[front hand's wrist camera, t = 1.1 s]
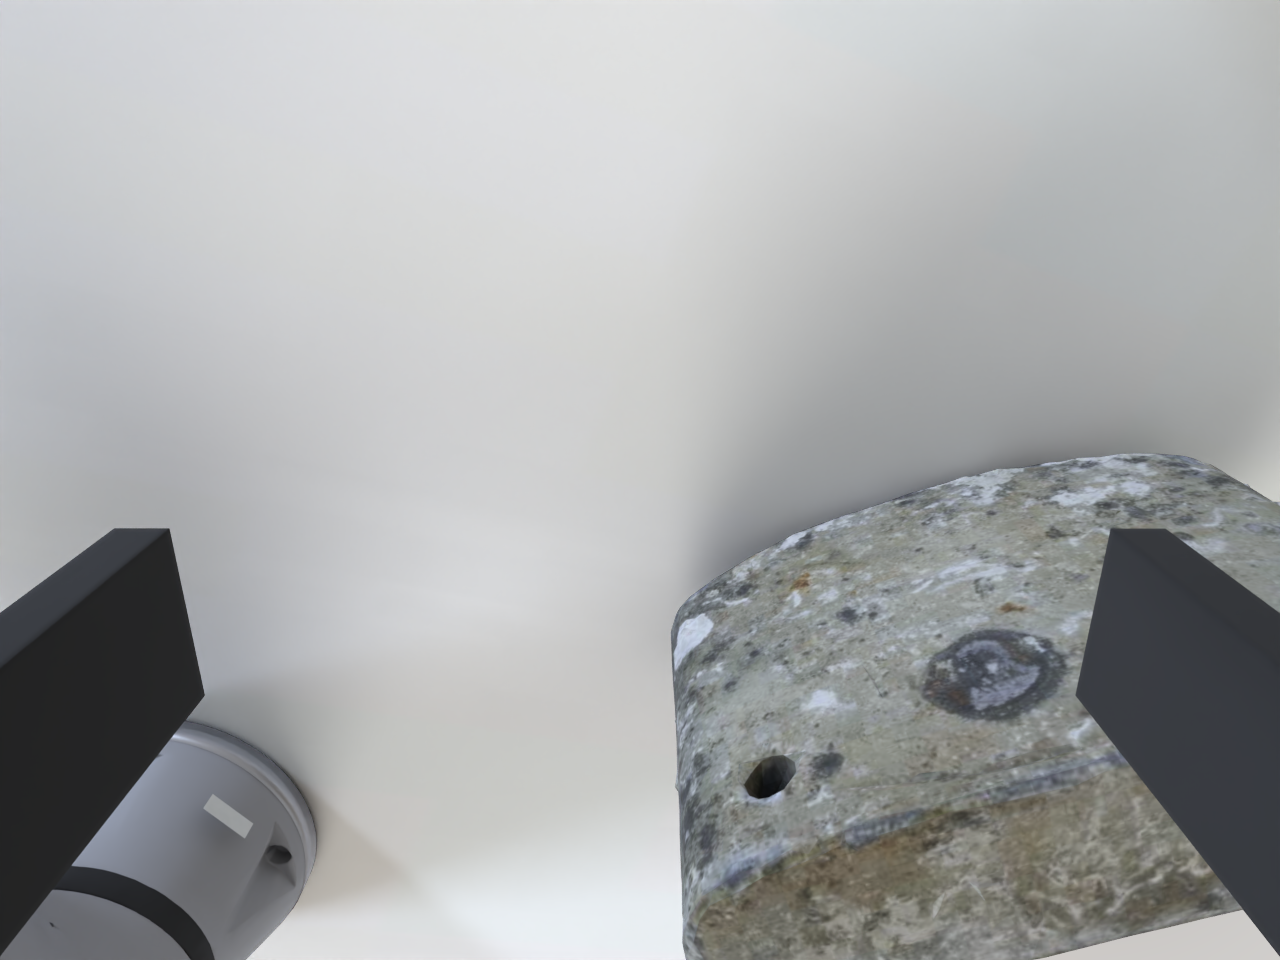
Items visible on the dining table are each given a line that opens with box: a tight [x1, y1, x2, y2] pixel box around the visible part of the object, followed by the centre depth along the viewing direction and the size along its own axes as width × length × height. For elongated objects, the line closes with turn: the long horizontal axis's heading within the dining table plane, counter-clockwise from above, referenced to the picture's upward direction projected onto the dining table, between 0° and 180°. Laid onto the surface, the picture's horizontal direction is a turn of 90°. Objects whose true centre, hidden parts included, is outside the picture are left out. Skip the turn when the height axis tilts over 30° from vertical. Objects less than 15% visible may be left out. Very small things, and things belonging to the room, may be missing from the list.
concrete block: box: [671, 454, 1280, 960], centre depth 34 cm, size 27×9×20 cm, turn 107°
